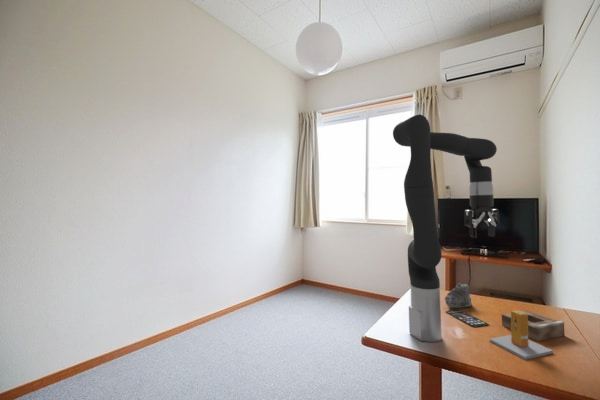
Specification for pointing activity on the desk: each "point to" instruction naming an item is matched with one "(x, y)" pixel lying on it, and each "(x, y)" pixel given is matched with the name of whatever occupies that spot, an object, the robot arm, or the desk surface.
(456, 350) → the desk surface
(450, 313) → the smartphone
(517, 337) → the supplement box
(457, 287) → the mineral rock
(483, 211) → the robot arm
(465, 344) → the desk surface
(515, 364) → the desk surface
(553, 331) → the box
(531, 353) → the mat
